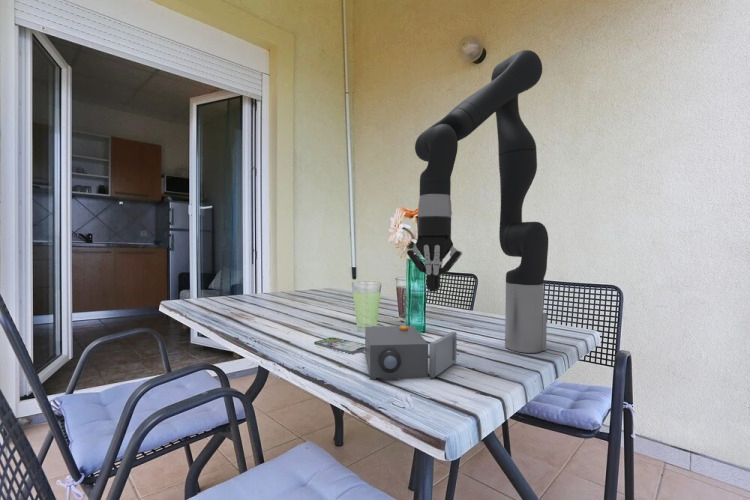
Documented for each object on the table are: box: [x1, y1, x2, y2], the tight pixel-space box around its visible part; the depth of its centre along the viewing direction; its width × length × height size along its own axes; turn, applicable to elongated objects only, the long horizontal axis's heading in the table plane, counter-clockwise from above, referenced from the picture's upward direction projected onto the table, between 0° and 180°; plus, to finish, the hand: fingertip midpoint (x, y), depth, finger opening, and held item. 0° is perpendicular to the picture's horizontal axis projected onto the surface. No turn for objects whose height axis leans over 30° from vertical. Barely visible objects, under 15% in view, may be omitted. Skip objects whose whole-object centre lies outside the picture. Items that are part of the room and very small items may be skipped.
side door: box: [428, 331, 458, 379], centre depth 78 cm, size 2×12×7 cm, turn 145°
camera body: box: [364, 325, 429, 380], centre depth 81 cm, size 12×17×8 cm
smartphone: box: [313, 337, 365, 355], centre depth 97 cm, size 7×1×15 cm
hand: (433, 291), depth 83 cm, fingers closed
